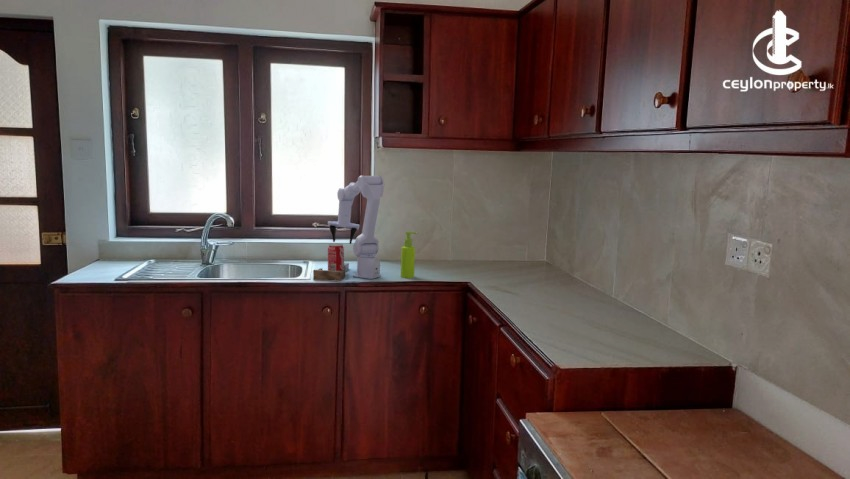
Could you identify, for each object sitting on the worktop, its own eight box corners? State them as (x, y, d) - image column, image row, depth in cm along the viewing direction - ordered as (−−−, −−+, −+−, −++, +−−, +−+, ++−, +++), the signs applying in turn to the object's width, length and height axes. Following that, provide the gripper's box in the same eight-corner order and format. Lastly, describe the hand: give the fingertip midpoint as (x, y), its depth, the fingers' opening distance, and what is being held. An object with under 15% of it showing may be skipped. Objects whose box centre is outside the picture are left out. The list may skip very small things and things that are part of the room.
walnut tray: (345, 276, 255) (345, 267, 254) (339, 280, 245) (340, 271, 245) (319, 275, 256) (319, 266, 256) (313, 279, 247) (313, 270, 246)
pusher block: (336, 268, 273) (336, 262, 273) (348, 269, 273) (348, 262, 272) (332, 271, 266) (332, 264, 266) (345, 272, 266) (345, 265, 265)
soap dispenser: (416, 278, 255) (417, 232, 252) (400, 278, 255) (401, 232, 252) (416, 275, 261) (417, 231, 258) (401, 275, 261) (402, 230, 258)
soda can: (342, 275, 257) (342, 245, 256) (326, 274, 257) (326, 245, 256) (345, 272, 264) (345, 243, 263) (329, 271, 264) (329, 243, 263)
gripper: (361, 213, 275) (358, 241, 279) (330, 210, 275) (328, 238, 278) (359, 217, 268) (357, 245, 272) (327, 213, 268) (325, 242, 272)
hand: (342, 242), depth 275 cm, fingers open, 7 cm apart
